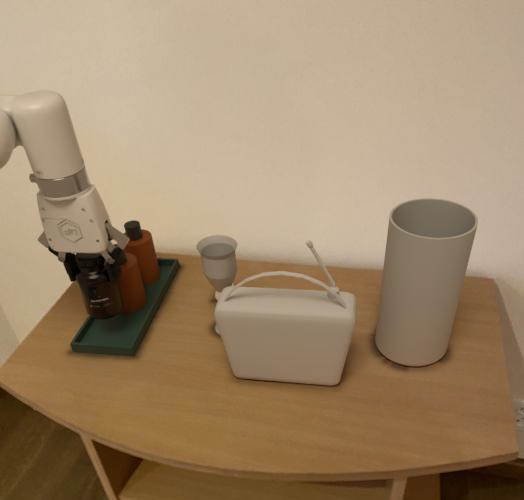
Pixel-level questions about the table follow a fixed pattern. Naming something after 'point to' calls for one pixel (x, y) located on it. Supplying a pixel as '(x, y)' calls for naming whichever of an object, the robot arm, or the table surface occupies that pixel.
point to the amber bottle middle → (131, 283)
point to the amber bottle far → (142, 251)
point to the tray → (126, 320)
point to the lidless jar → (218, 294)
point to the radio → (287, 330)
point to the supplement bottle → (97, 287)
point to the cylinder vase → (423, 278)
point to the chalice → (218, 261)
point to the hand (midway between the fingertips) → (96, 277)
